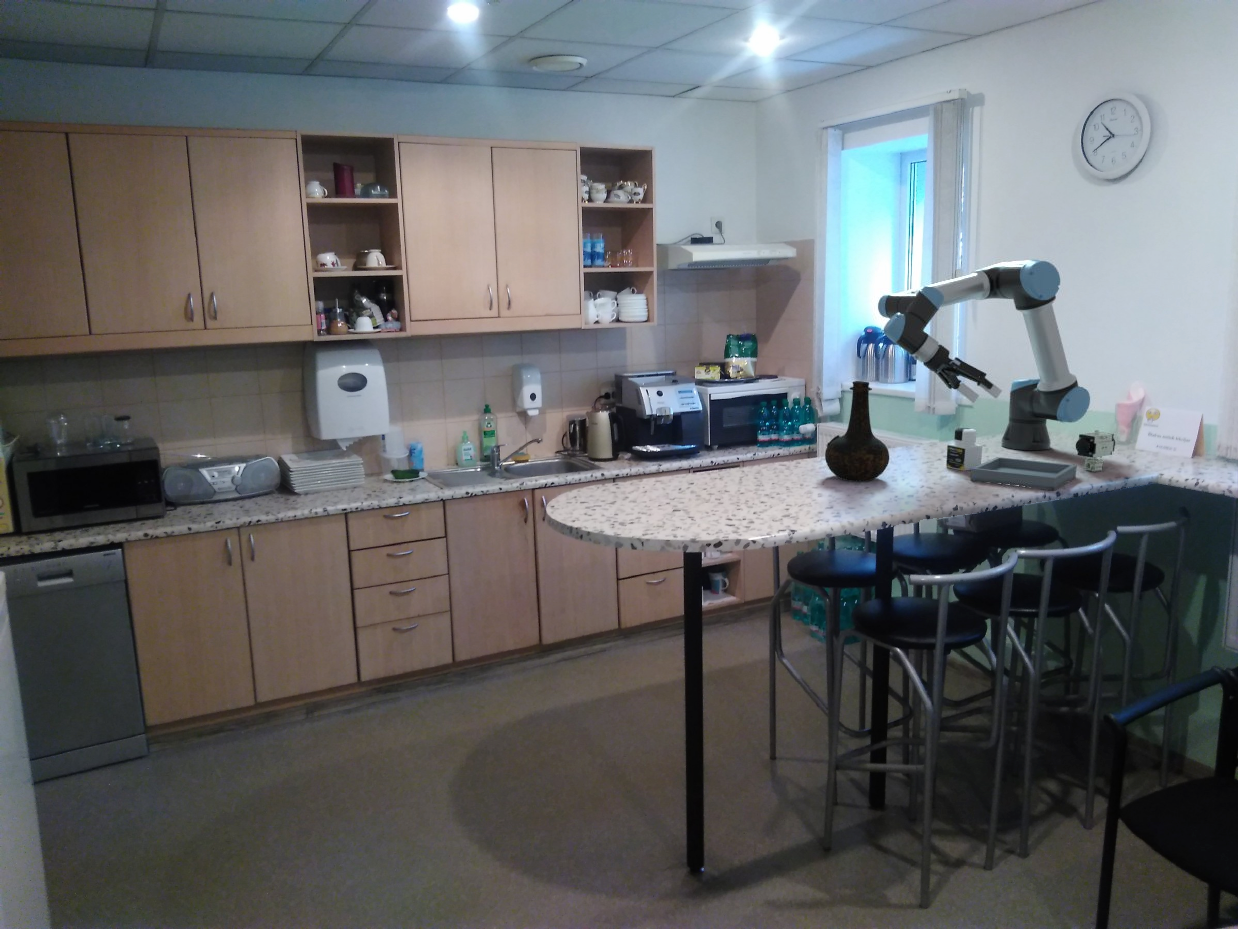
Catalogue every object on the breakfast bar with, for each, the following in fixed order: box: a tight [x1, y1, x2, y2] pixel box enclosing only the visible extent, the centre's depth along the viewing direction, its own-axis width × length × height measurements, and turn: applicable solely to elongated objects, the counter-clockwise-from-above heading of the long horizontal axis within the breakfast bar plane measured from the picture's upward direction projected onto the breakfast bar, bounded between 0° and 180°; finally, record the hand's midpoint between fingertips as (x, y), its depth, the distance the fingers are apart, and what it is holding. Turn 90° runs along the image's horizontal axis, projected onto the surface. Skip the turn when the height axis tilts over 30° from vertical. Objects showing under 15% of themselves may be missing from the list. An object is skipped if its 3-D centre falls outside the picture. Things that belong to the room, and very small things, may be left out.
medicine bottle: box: [945, 427, 983, 472], centre depth 274 cm, size 7×7×12 cm
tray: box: [970, 456, 1077, 492], centre depth 258 cm, size 22×22×4 cm
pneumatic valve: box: [1075, 429, 1116, 473], centre depth 267 cm, size 6×12×12 cm, turn 117°
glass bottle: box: [824, 380, 890, 482], centre depth 260 cm, size 18×18×28 cm
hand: (987, 396), depth 269 cm, fingers open, 13 cm apart
